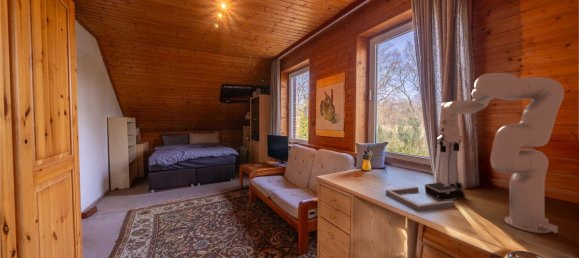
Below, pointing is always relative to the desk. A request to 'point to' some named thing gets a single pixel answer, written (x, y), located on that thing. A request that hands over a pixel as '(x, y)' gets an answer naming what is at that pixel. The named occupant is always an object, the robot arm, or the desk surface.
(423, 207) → the stand
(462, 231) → the desk surface
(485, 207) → the desk surface
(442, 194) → the film camera
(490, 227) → the desk surface
